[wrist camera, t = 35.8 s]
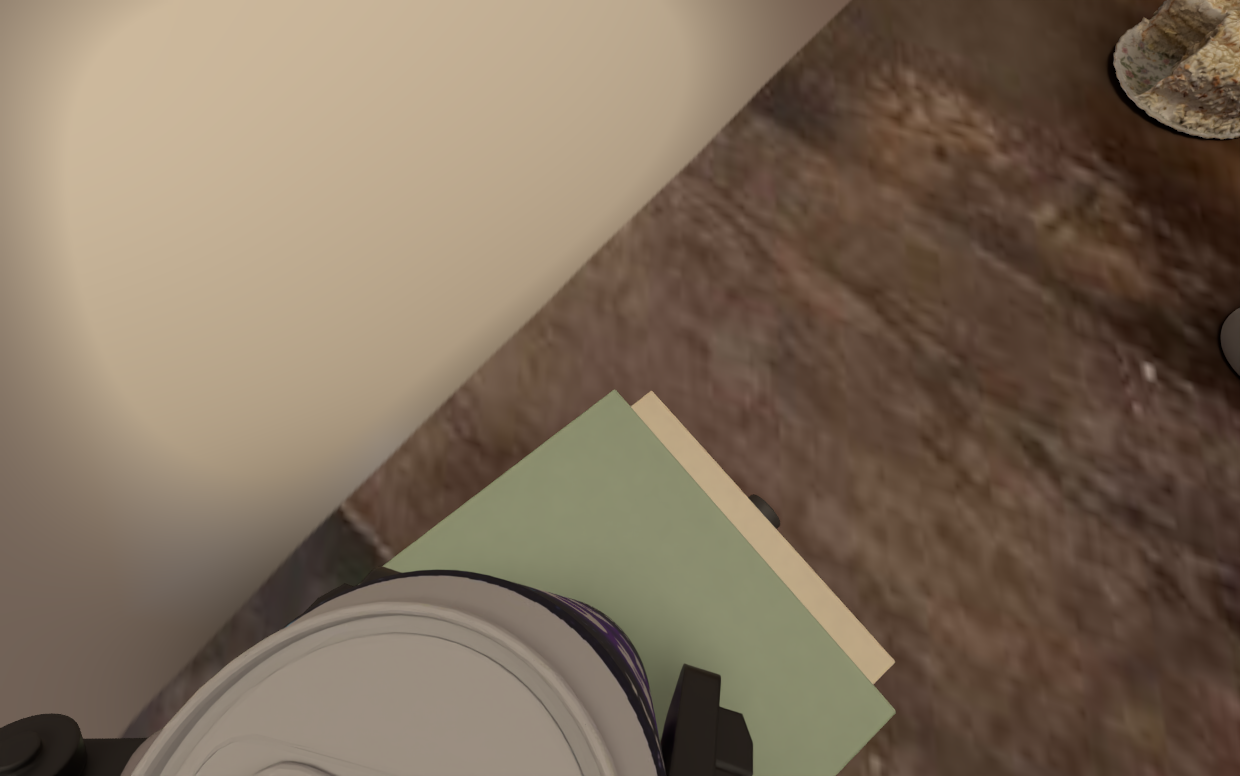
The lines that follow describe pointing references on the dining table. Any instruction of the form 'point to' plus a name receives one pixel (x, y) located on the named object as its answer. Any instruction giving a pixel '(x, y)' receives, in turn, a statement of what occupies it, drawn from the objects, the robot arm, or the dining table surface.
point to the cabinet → (665, 585)
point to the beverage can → (424, 690)
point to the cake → (1186, 66)
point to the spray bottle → (1232, 340)
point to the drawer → (766, 539)
